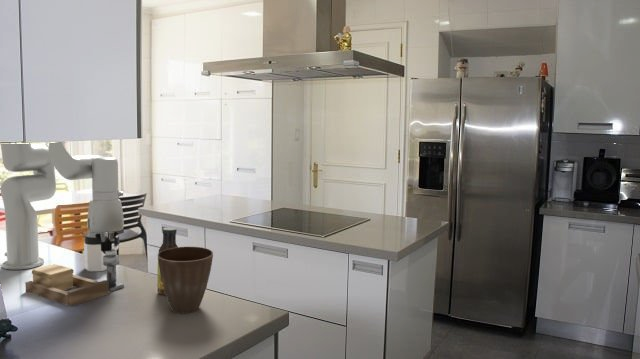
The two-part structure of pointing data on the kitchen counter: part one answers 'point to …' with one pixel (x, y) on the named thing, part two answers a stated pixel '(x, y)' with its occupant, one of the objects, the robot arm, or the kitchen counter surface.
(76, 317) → the kitchen counter surface
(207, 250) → the plant pot
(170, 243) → the sauce bottle
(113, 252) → the crank
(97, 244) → the jar
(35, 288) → the bay
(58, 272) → the tan wooden block
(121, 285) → the winch post
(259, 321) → the kitchen counter surface
